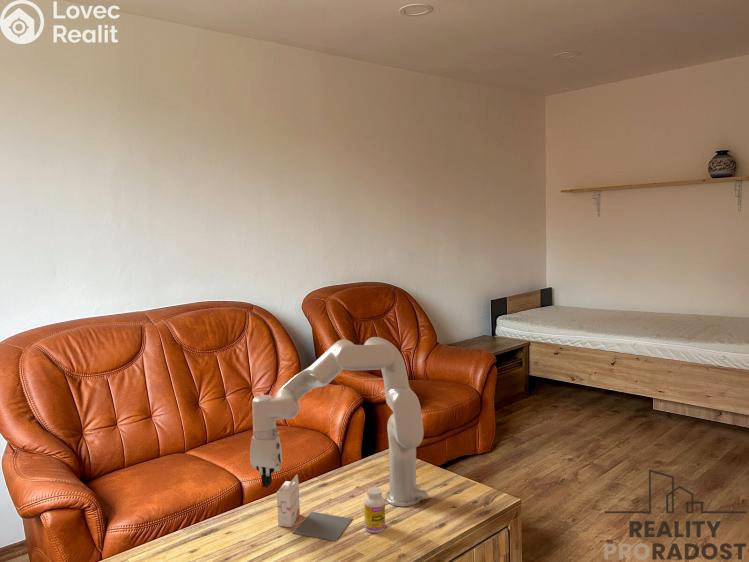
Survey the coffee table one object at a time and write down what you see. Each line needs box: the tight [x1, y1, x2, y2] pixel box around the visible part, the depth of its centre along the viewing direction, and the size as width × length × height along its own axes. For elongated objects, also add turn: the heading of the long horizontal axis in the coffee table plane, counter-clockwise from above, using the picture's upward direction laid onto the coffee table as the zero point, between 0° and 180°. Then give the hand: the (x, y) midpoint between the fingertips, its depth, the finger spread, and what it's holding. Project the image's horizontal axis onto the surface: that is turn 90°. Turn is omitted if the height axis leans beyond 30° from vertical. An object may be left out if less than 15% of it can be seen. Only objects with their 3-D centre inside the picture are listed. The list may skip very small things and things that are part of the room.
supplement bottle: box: [363, 486, 386, 534], centre depth 185 cm, size 7×7×13 cm
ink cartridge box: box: [276, 474, 301, 528], centre depth 191 cm, size 9×5×15 cm, turn 168°
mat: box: [292, 511, 353, 543], centre depth 187 cm, size 15×14×1 cm
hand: (266, 485), depth 193 cm, fingers closed
